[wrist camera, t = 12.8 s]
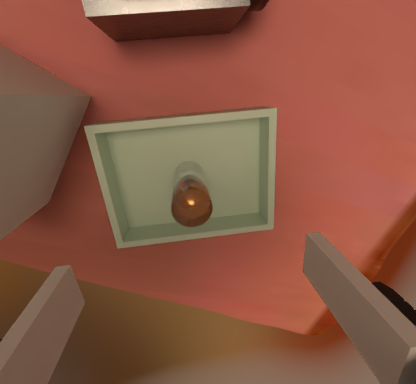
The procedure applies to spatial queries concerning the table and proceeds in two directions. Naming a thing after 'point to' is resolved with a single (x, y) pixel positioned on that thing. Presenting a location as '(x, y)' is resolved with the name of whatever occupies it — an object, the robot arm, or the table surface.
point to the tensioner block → (167, 17)
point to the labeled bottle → (190, 195)
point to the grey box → (33, 135)
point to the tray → (175, 155)
